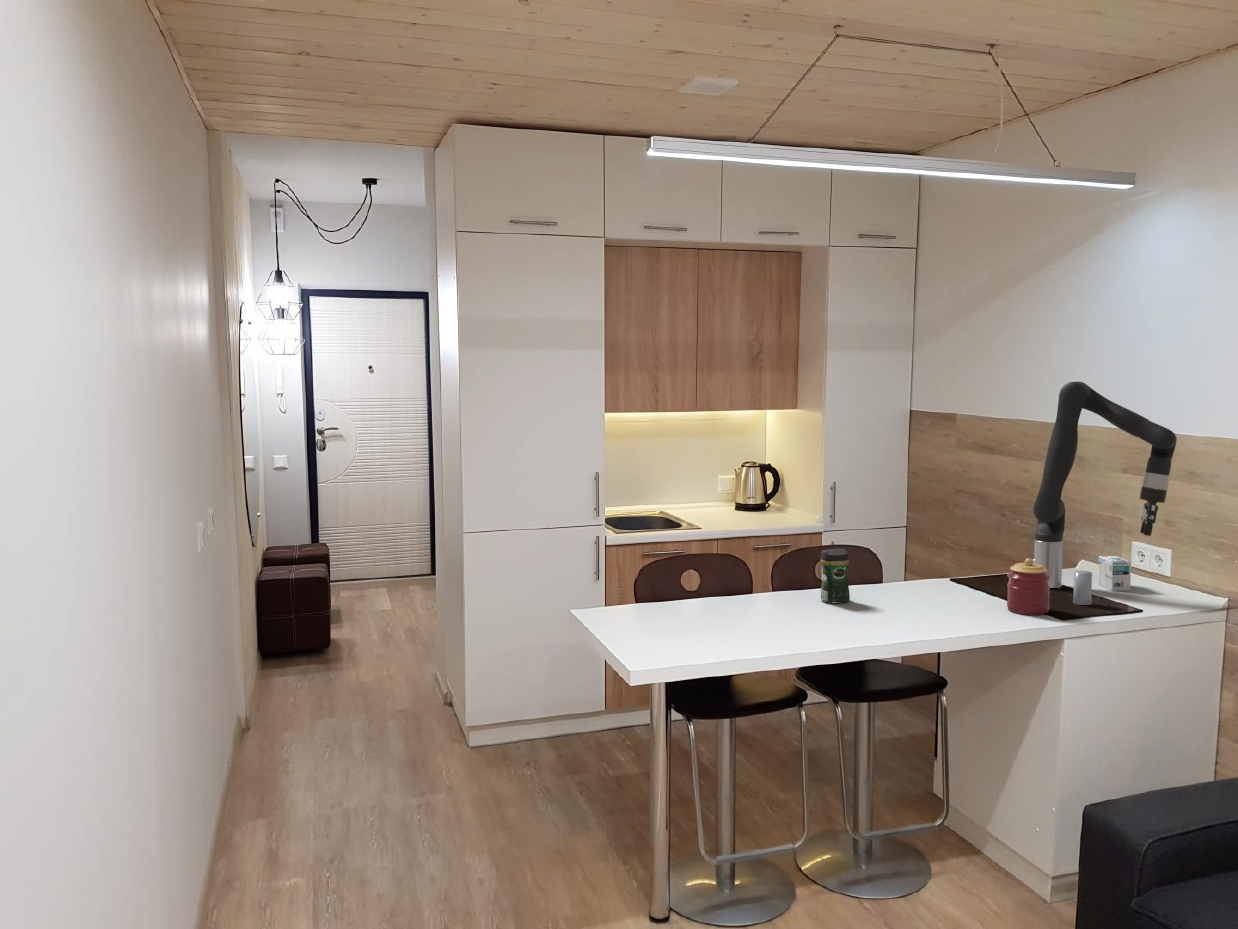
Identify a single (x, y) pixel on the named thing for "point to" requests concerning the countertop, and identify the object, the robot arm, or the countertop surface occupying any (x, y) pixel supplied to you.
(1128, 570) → the light bulb box
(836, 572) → the coffee jar
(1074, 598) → the grey rounded bar
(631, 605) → the countertop surface
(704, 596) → the countertop surface
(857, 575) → the countertop surface
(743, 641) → the countertop surface
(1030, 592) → the canister
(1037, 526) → the robot arm
